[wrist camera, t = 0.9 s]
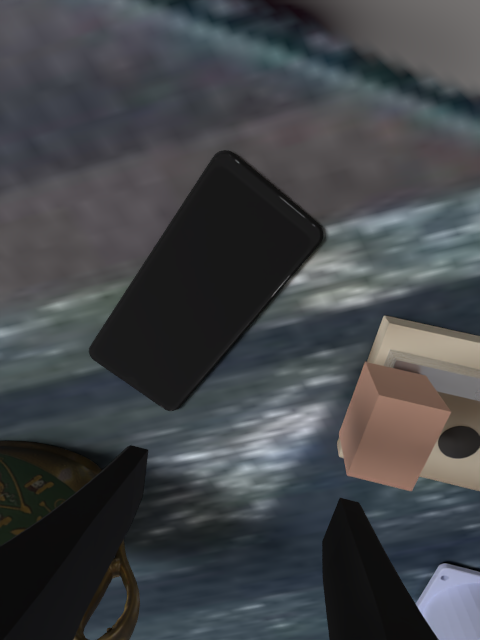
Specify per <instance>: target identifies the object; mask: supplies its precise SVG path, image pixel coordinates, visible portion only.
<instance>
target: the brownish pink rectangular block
mask: <svg viewBox="0 0 480 640" xmlns="http://www.w3.org/2000/svg"><path fill="white" fill-rule="evenodd" d="M450 414H451V411H450V409H449V408H448V406H447V405H446V404H445V402H444V401H443V399H442V398H441V396H440V395H439V394H438V392H437V391H436V389H435V388H434V386H433V385H432V384H431V382H430V381H429V379H428V378H427V376H426V375H421V374H417V373H412V372H408V371H404V370H399V369H395V368H390V367H386V366H382V365H377V364H373V363H368V362H365V364H364V366H363V369H362V372H361V375H360V377H359V380H358V383H357V385H356V388H355V391H354V394H353V396H352V399H351V402H350V405H349V407H348V410H347V413H346V416H345V418H344V421H343V424H342V427H341V429H340V432H339V436H340V441H341V446H342V452H343V457H344V462H345V467H346V473H347V475H348V476H352V477H356V478H360V479H364V480H368V481H372V482H376V483H380V484H384V485H388V486H392V487H396V488H400V489H404V490H408V491H412V489H413V488H414V486H415V484H416V482H417V480H418V478H419V476H420V474H421V472H422V470H423V468H424V466H425V464H426V462H427V460H428V458H429V456H430V454H431V452H432V450H433V448H434V446H435V444H436V442H437V440H438V438H439V436H440V434H441V432H442V430H443V428H444V426H445V424H446V422H447V420H448V418H449V416H450Z"/></svg>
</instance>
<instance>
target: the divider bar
mask: <svg viewBox="0 0 480 640" xmlns="http://www.w3.org/2000/svg"><path fill="white" fill-rule="evenodd" d="M384 366H386V367H390V368H395V369H399V370H404V371H408V372H412V373H417V374H421V375H426V376H427V378H428V379H429V381H430V382H431V384H432V385H433V386H434V388H435V389H436V391H438V392H442V393H446V394H451V395H455V396H459V397H464V398H468V399H472V400H477V401H480V369H475V368H471V367H467V366H462V365H458V364H453V363H449V362H444V361H440V360H435V359H431V358H427V357H422V356H418V355H413V354H409V353H404V352H400V351H395V350H391V349H390V351H389V353H388V356H387V358H386V361H385V363H384Z"/></svg>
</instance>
